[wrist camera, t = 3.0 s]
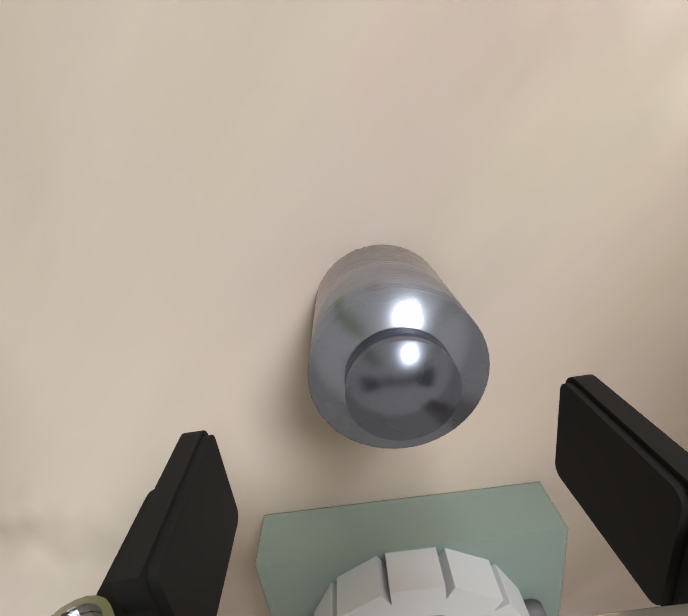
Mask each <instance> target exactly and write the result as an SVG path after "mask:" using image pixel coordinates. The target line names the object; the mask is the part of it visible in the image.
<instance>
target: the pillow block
mask: <svg viewBox="0 0 688 616" xmlns="http://www.w3.org/2000/svg"><path fill="white" fill-rule="evenodd" d="M567 534H568V527H567V526H566V524H565V522H564V521H563V519H562V517H561V516H560V514H559V512H558V511H557V509H556V507H555V506H554V504H553V503H552V501H551V499H550V498H549V496H548V494H547V493H546V491H545V489H544V488H543V486H542V485H541V483H540V482H536V483H527V484H519V485H511V486H503V487H494V488H486V489H478V490H470V491H461V492H453V493H445V494H437V495H428V496H420V497H412V498H404V499H396V500H387V501H379V502H371V503H363V504H354V505H346V506H338V507H330V508H321V509H313V510H305V511H297V512H288V513H280V514H272V515H264V520H263V525H262V531H261V536H260V542H259V547H258V552H257V558H256V563H255V566H256V569H257V572H258V575H259V579H260V582H261V585H262V588H263V591H264V594H265V597H266V600H267V604H268V607H269V610H270V613H271V616H559V611H560V601H561V592H562V582H563V572H564V563H565V553H566V543H567Z"/></svg>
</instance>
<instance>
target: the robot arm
mask: <svg viewBox="0 0 688 616" xmlns="http://www.w3.org/2000/svg"><path fill="white" fill-rule="evenodd" d="M555 465H556V470H557V472H558V475H559V476H560V478H561V479H562V481H563V482H564V484H565V485H566V486H567V488H568V489H569V490H570V492H571V493H572V495H573V496H574V497H575V499H576V500H577V501H578V503H579V504H580V505H581V507H582V508H583V510H584V511H585V512H586V514H587V515H588V516H589V518H590V519H591V521H592V522H593V523H594V525H595V526H596V527H597V529H598V530H599V532H600V533H601V534H602V536H603V537H604V538H605V540H606V541H607V542H608V544H609V545H610V547H611V548H612V549H613V551H614V552H615V553H616V555H617V556H618V558H619V559H620V560H621V562H622V563H623V564H624V566H625V567H626V569H627V570H628V571H629V573H630V574H631V575H632V577H633V578H634V579H635V581H636V582H637V584H638V585H639V586H640V588H641V589H642V590H643V592H644V593H645V595H646V596H647V597H648V598H649V600H650V601H651V602H652V603H654V604H655V605H661V607H654V608H645V609H637V610H630V611H623V612H616V613H608V614H601V615H594V616H688V452H687V451H685V450H684V449H683V448H682V447H680V446H679V445H678V444H677V443H676V442H674V441H673V440H672V439H671V438H670V437H668V436H667V435H666V434H665V433H663V432H662V431H661V430H660V429H659V428H657V427H656V426H655V425H654V424H653V423H651V422H650V421H649V420H648V419H646V418H645V417H644V416H643V415H642V414H640V413H639V412H638V411H637V410H636V409H634V408H633V407H632V406H631V405H629V404H628V403H627V402H626V401H625V400H623V399H622V398H621V397H620V396H619V395H617V394H616V393H615V392H614V391H612V390H611V389H610V388H609V387H608V386H606V385H605V384H604V383H603V382H602V381H600V380H599V379H598V378H597V377H595V376H594V375H583V376H576V377H570V378H568V379H567V380H566V384H562V385H561V388H560V400H559V415H558V429H557V444H556V458H555ZM237 523H238V511H237V507H236V503H235V500H234V497H233V494H232V490H231V487H230V484H229V481H228V478H227V474H226V471H225V468H224V465H223V461H222V458H221V455H220V452H219V449H218V445H217V442H216V439H215V437H214V435H208V433H207V432H206V431H204V430H203V431H196V432H189V433H184V434H182V435H181V437H180V439H179V441H178V443H177V445H176V447H175V449H174V451H173V453H172V455H171V457H170V459H169V461H168V463H167V465H166V467H165V469H164V471H163V473H162V475H161V477H160V479H159V481H158V483H157V485H156V487H155V489H154V490H152V491H151V492H149V494H148V495H147V497H146V499H145V501H144V502H143V504H142V506H141V508H140V510H139V512H138V514H137V516H136V518H135V520H134V522H133V524H132V526H131V528H130V530H129V532H128V534H127V536H126V538H125V540H124V542H123V544H122V546H121V548H120V550H119V552H118V554H117V556H116V557H115V559H114V561H113V563H112V565H111V567H110V569H109V571H108V573H107V575H106V577H105V579H104V581H103V583H102V585H101V587H100V589H99V591H98V593H97V595H95V596H85V597H83V598H80V599H77V600H74V601H72V602H71V603H69V604H67V605H65V606H64V607H62V608H60V609H59V610H58V611H57V612H56V613H54V614H53V615H52V616H217V611H218V607H219V603H220V598H221V594H222V589H223V585H224V581H225V576H226V572H227V568H228V563H229V559H230V554H231V550H232V546H233V541H234V537H235V532H236V528H237Z"/></svg>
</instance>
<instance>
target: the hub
mask: <svg viewBox="0 0 688 616" xmlns="http://www.w3.org/2000/svg"><path fill="white" fill-rule="evenodd" d="M489 367H490V363H489V353H488V348H487V344H486V342H485V339H484V337H483V334H482V333H481V331H480V329H479V328H478V326H477V325H476V323H475V322H474V321H473V319H472V318H471V317H470V316H469V314H468V313H467V312H466V311H465V309H464V308H463V307H462V305H461V304H460V303H459V302H458V300H457V299H456V298H455V297H454V295H453V294H452V293H451V292H450V290H449V289H448V288H447V286H446V285H445V284H444V283H443V281H442V280H441V279H440V278H439V276H438V275H437V274H436V272H435V271H434V270H433V269H432V268H431V266H430V265H429V264H428V263H427V262H426V261H425V260H424V259H423V258H421V257H420V256H418V255H417V254H415V253H413V252H411V251H409V250H407V249H404V248H401V247H397V246H392V245H373V246H368V247H363V248H360V249H357V250H355V251H353V252H351V253H349V254H347V255H345V256H344V257H342V258H341V259H340V260H338V261H337V262H336V263H335V264H334V265H333V266H332V267H331V268H330V269H329V270H328V272H327V273H326V275H325V276H324V278H323V280H322V282H321V284H320V286H319V289H318V292H317V296H316V303H315V312H314V320H313V329H312V338H311V347H310V356H309V365H308V383H309V389H310V393H311V397H312V399H313V401H314V404H315V406H316V408H317V409H318V411H319V413H320V414H321V416H322V417H323V418H324V419H325V420H326V421H327V423H328V424H330V425H331V426H332V427H333V428H334V429H335V430H336V431H338V432H339V433H341V434H342V435H344V436H346V437H348V438H349V439H351V440H353V441H356V442H359V443H361V444H365V445H369V446H372V447H379V448H393V449H396V448H407V447H413V446H418V445H421V444H425V443H428V442H431V441H433V440H435V439H438V438H440V437H442V436H444V435H445V434H447V433H449V432H450V431H452V430H453V429H455V428H456V427H457V426H458V425H460V424H461V423H462V422H463V421H464V420H465V419H466V418H467V417H468V416H469V415H470V414H471V413H472V411H473V410H474V409H475V407H476V406H477V404H478V403H479V401H480V399H481V397H482V395H483V393H484V390H485V388H486V385H487V381H488V377H489Z"/></svg>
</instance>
